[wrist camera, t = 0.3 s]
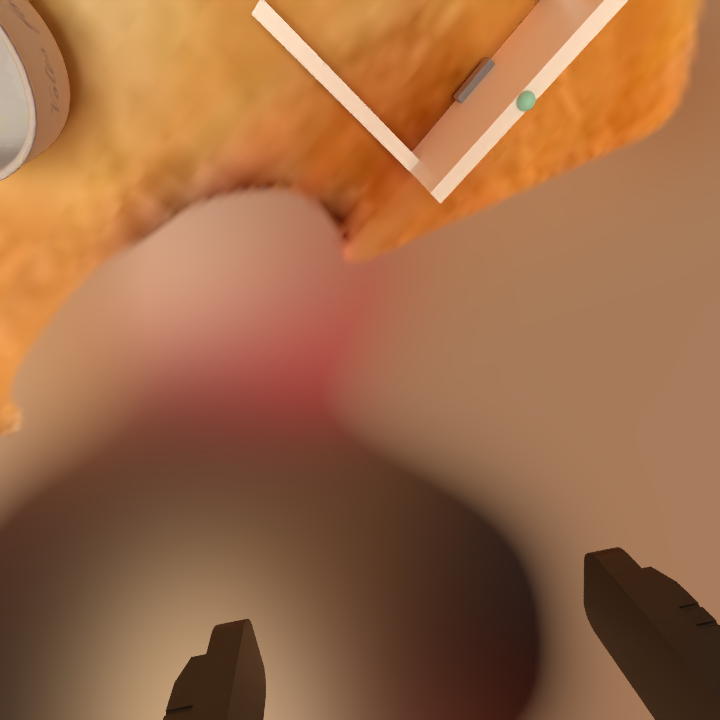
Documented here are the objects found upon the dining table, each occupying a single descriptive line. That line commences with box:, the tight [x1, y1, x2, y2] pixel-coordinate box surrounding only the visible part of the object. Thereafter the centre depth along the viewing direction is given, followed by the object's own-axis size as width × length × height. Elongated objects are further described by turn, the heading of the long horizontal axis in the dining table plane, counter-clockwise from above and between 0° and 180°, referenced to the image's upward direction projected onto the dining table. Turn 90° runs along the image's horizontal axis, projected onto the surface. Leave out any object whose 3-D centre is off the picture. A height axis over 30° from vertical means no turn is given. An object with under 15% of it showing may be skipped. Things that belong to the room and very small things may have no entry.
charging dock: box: [252, 0, 628, 204], centre depth 24 cm, size 14×14×9 cm
